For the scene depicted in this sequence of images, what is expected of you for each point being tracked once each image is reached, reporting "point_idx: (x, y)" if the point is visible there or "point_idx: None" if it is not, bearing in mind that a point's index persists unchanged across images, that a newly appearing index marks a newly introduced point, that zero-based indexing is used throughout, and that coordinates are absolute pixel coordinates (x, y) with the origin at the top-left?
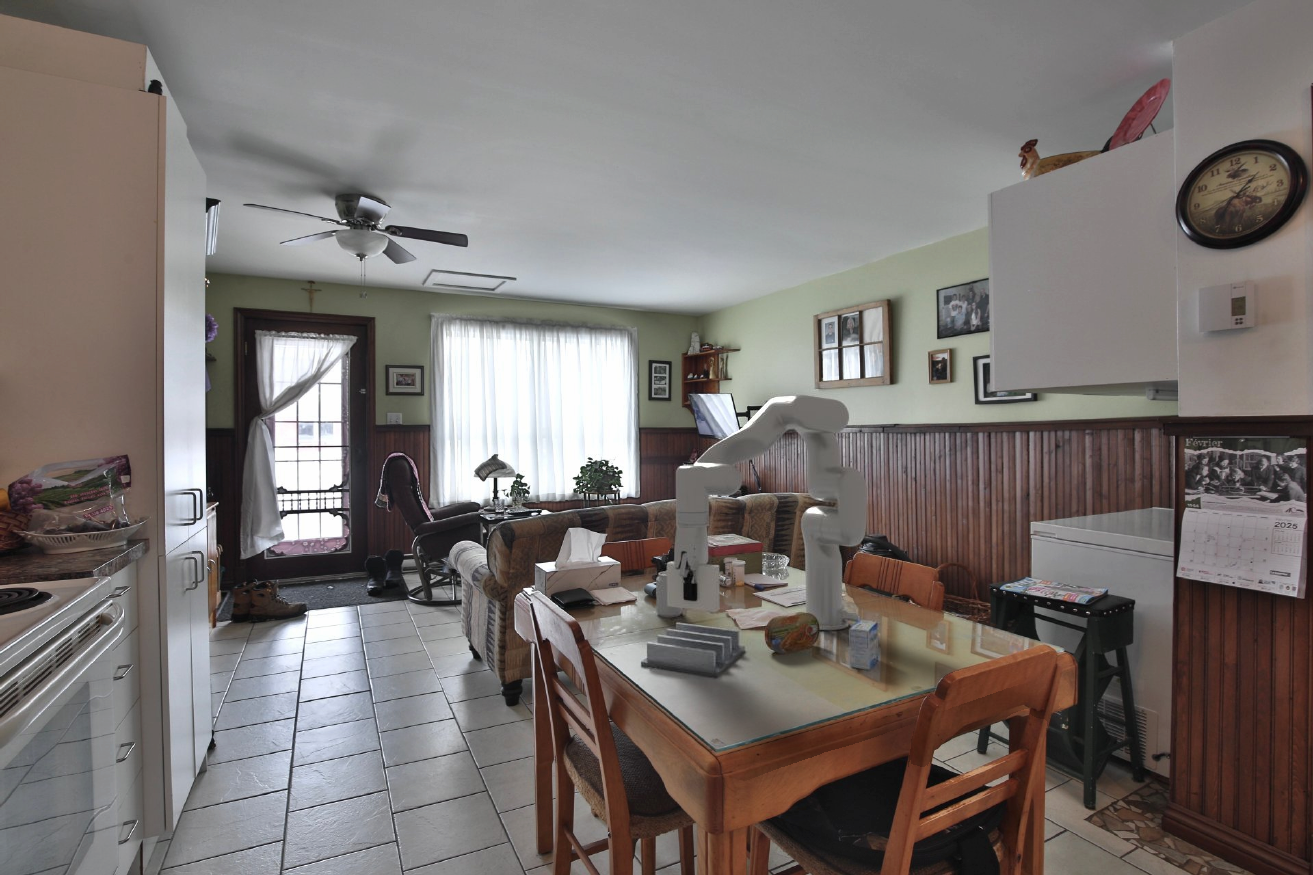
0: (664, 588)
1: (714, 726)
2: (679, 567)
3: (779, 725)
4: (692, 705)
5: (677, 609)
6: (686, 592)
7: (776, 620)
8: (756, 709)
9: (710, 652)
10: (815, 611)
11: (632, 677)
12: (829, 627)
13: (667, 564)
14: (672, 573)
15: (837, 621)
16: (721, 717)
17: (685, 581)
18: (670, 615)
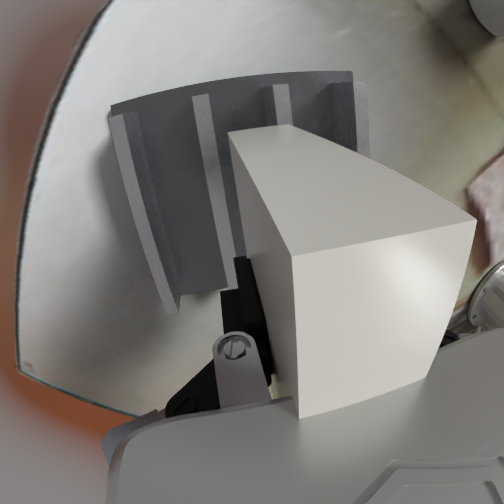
0: None
1: (43, 354)
2: (244, 415)
3: (105, 399)
4: (53, 311)
5: (493, 27)
6: (223, 309)
7: None
8: (115, 375)
9: (165, 308)
10: (494, 309)
11: (51, 143)
12: (469, 316)
13: (283, 257)
14: (265, 260)
15: (481, 321)
16: (63, 353)
17: (209, 370)
18: (474, 12)
